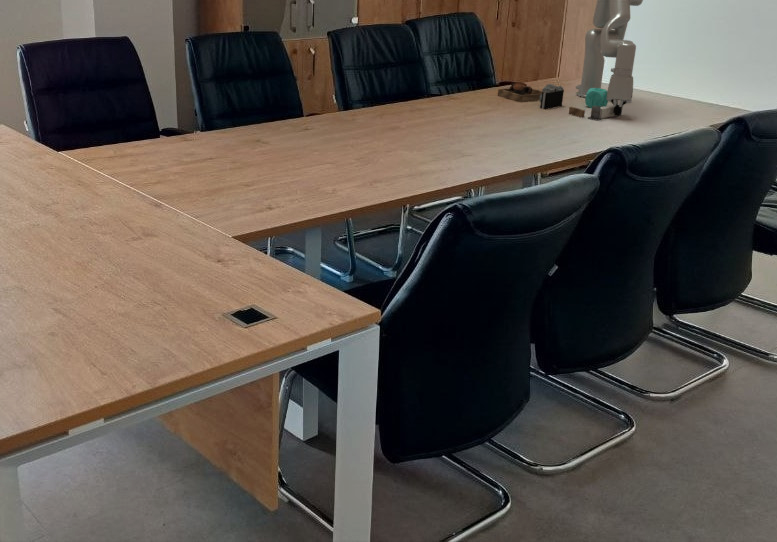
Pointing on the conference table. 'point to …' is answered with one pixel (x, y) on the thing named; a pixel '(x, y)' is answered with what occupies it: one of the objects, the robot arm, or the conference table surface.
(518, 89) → the pottery mug
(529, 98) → the wooden picture frame
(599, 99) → the decorative dice
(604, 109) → the leg
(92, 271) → the conference table surface
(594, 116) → the brown and grey piece
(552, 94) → the camera
